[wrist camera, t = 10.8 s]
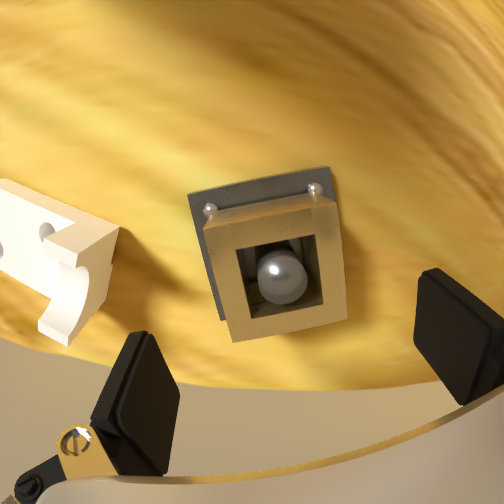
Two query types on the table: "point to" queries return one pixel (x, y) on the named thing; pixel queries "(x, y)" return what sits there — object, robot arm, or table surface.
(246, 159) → the table surface
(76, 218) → the bracket
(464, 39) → the table surface
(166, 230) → the table surface
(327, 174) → the peg base plate
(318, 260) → the collar
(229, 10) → the table surface
